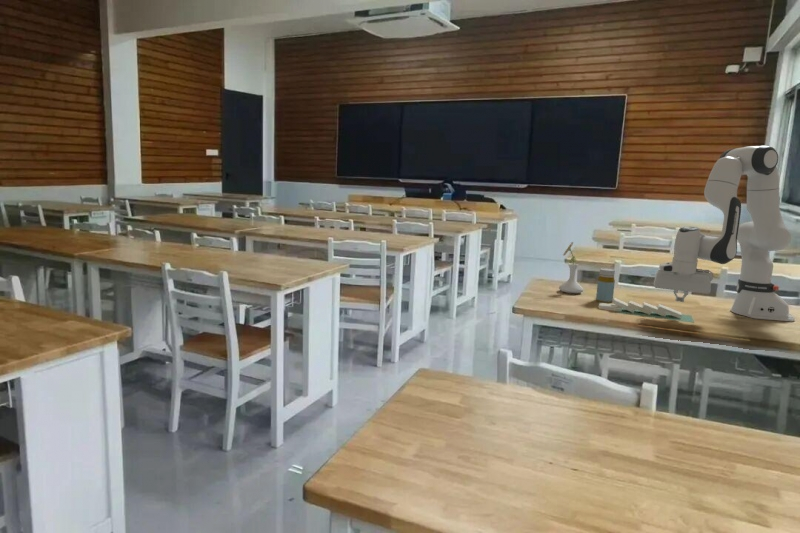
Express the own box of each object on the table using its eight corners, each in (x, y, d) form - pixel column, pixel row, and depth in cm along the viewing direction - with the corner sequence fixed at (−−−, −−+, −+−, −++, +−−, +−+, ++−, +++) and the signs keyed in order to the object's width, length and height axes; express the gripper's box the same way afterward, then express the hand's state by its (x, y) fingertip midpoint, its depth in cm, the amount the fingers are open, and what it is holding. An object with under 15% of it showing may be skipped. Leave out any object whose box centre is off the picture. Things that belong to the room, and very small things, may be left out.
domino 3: (665, 310, 218) (643, 301, 220) (666, 313, 213) (644, 304, 216) (664, 314, 218) (642, 305, 221) (664, 316, 213) (642, 307, 216)
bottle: (592, 300, 239) (595, 268, 237) (604, 299, 242) (607, 267, 240) (603, 304, 233) (607, 271, 231) (615, 303, 236) (619, 270, 233)
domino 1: (635, 306, 222) (614, 297, 225) (635, 309, 218) (614, 299, 220) (633, 310, 223) (612, 300, 225) (633, 312, 218) (612, 303, 221)
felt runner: (691, 316, 217) (691, 315, 217) (694, 324, 206) (694, 322, 206) (615, 307, 229) (615, 306, 228) (614, 313, 218) (614, 312, 218)
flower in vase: (565, 288, 263) (569, 238, 259) (587, 292, 256) (592, 241, 251) (552, 292, 254) (557, 240, 250) (574, 296, 246) (579, 243, 242)
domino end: (622, 305, 224) (599, 302, 228) (621, 307, 219) (598, 305, 223) (621, 308, 224) (599, 306, 228) (621, 311, 220) (598, 308, 223)
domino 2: (649, 315, 216) (627, 306, 219) (649, 312, 220) (627, 303, 223) (651, 311, 215) (629, 302, 218) (651, 308, 220) (629, 300, 223)
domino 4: (681, 312, 215) (658, 303, 218) (682, 315, 211) (659, 306, 214) (679, 315, 216) (656, 306, 219) (680, 318, 211) (657, 309, 214)
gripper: (712, 269, 209) (708, 303, 212) (655, 263, 217) (651, 296, 219) (715, 271, 203) (710, 306, 206) (656, 266, 211) (652, 299, 214)
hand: (679, 301), depth 213 cm, fingers closed
